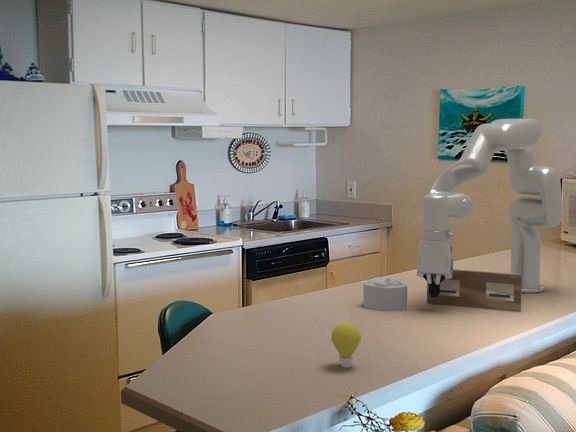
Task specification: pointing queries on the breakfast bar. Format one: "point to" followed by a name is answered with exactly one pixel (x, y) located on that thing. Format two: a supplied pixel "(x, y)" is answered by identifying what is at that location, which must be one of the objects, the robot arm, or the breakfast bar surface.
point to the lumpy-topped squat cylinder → (385, 294)
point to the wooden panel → (480, 290)
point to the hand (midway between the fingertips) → (434, 296)
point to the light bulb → (346, 342)
